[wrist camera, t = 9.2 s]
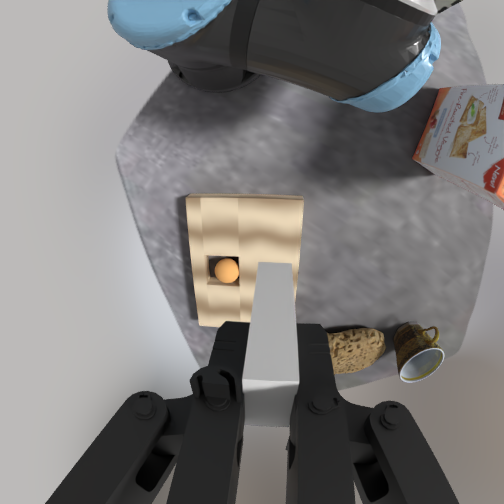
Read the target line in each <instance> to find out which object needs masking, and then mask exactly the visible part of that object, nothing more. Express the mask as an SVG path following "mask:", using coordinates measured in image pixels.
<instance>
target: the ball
mask: <svg viewBox="0 0 504 504" xmlns="http://www.w3.org/2000/svg"><path fill="white" fill-rule="evenodd" d="M215 275H216V277H217V278H218V279H219V280H220V281H221V282H223V283H231V282H233V281H235V280H236V279H237V278H238V276H239V266H238V264H237V262H235V261H234V260H232V259H229V258H225V259H222V260H220V261H219V262H218V263H217V265H216V267H215Z"/></svg>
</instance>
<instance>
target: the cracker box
mask: <svg viewBox="0 0 504 504" xmlns="http://www.w3.org/2000/svg"><path fill="white" fill-rule="evenodd" d="M412 159H413V160H415V161H416V162H418V163H419V164H421V165H422V166H423V167H425V168H426V169H428V170H429V171H431V172H432V173H434V174H435V175H437V176H439V177H441V178H443V179H445V180H447V181H449V182H451V183H453V184H455V185H458V186H460V187H462V188H464V189H466V190H468V191H470V192H472V193H474V194H476V195H477V196H479V197H481V198H483V199H485V200H487V201H489V202H490V203H492V204H494V205H496V206H498V207H500V208H501V209H503V210H504V84H494V85H471V86H458V87H448V88H440V89H439V92H438V95H437V98H436V101H435V103H434V106H433V109H432V112H431V114H430V117H429V119H428V122H427V125H426V127H425V130H424V132H423V134H422V137H421V139H420V142H419V144H418V146H417V148H416V151H415V153H414V155H413V158H412Z"/></svg>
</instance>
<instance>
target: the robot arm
mask: <svg viewBox="0 0 504 504" xmlns="http://www.w3.org/2000/svg"><path fill="white" fill-rule="evenodd" d="M436 14H437V8H436V5H435V3H434V0H109V2H108V18H109V20H110V23H111V25H112V27H113V29H114V30H115V32H116V33H117V34H118V35H120V36H121V37H123V38H124V39H126V40H127V41H128V42H129V43H130V44H132V45H134V47H136V48H141V49H144V50H148V51H150V52H152V53H154V54H156V55H159V56H160V57H162V58H164V59H167V60H168V63H169V65H170V67H171V69H172V71H173V72H174V73H175V74H176V76H177V77H178V78H179V79H181V80H182V81H183V82H185V83H186V84H188V85H190V86H192V87H195V88H197V89H200V90H203V91H208V92H226V91H231V90H235V89H238V88H241V87H243V86H245V85H247V84H249V83H251V82H252V81H254V80H255V79H256V78H257V77H258V76H260V75H265V76H269V77H272V78H276V79H279V80H283V81H286V82H289V83H292V84H296V85H299V86H302V87H305V88H307V89H310V90H313V91H316V92H319V93H321V94H324V95H327V96H329V98H330V99H332V100H334V101H336V102H339V103H340V102H341V103H347V104H350V105H353V106H355V107H358V108H360V109H363V110H365V111H368V112H376V113H379V112H386V111H390V110H393V109H395V108H397V107H399V106H401V105H402V104H404V103H405V102H407V101H408V100H409V99H410V98H411V97H413V96H414V95H415V94H416V93H417V92H418V91H419V90H420V88H421V87H422V86H423V85H424V84H425V82H426V81H427V80H428V78H429V76H430V75H431V73H432V71H433V69H434V68H433V66H432V63H433V62H434V61H436V60H437V59H438V57H439V54H440V49H441V42H440V35H439V33H438V31H437V29H436V28H435V27H434V25H433V24H432V22H431V21H432V20H433V18H434V17H435V15H436ZM190 384H191V388H192V391H193V394H192V395H190V396H187V397H184V398H176V399H167V400H163V398H162V397H161V396H159V395H158V394H156V393H154V392H149V391H142V392H138V393H135V394H133V395H131V396H130V397H129V398H128V399H127V400H126V401H125V402H124V404H123V405H122V406H121V407H120V408H119V410H118V411H117V412H116V413H115V415H114V416H113V417H112V418H111V420H110V421H109V422H108V424H107V425H106V426H105V427H104V429H103V430H102V431H101V433H100V434H99V435H98V436H97V438H96V439H95V440H94V441H93V443H92V444H91V445H90V447H89V448H88V449H87V450H86V452H85V453H84V454H83V456H82V457H81V458H80V459H79V461H78V462H77V463H76V464H75V466H74V467H73V468H72V470H71V471H70V472H69V473H68V475H67V476H66V477H65V479H64V480H63V481H62V482H61V484H60V485H59V486H58V488H57V489H56V490H55V491H54V493H53V494H52V495H51V497H50V498H49V500H48V501H47V502H46V503H45V504H152V502H153V501H154V499H155V497H156V496H157V494H158V493H159V491H160V489H161V488H162V486H163V484H164V483H165V481H166V479H167V478H168V476H169V474H170V473H171V471H172V469H173V467H174V466H175V464H176V463H177V464H176V468H175V472H174V475H173V479H172V483H171V487H170V491H169V495H168V499H167V504H235V501H236V494H237V486H238V478H239V470H240V462H241V455H242V446H243V429H244V425H251V426H270V427H289V425H290V436H289V439H288V443H287V446H286V450H288V458H287V459H288V460H287V486H286V504H355V493H354V482H355V485H356V487H357V490H358V492H359V495H360V498H361V500H362V503H363V504H459V502H458V500H457V498H456V496H455V494H454V492H453V490H452V488H451V486H450V484H449V482H448V480H447V479H446V477H445V474H444V473H443V471H442V469H441V467H440V465H439V463H438V461H437V459H436V458H435V456H434V454H433V452H432V450H431V448H430V447H429V445H428V443H427V441H426V439H425V438H424V436H423V434H422V432H421V431H420V429H419V427H418V425H417V424H416V422H415V420H414V419H413V417H412V415H411V413H410V412H409V410H408V409H407V408H406V407H405V406H404V405H402V404H400V403H398V402H395V401H386V402H381V403H380V404H378V405H376V406H375V407H374V408H370V407H365V406H360V405H355V404H352V403H350V402H348V401H346V400H345V399H344V398H343V397H342V396H341V395H340V394H339V392H338V391H337V388H336V383H335V377H334V370H333V364H332V358H331V355H330V347H329V341H328V336H327V332H326V331H325V330H324V329H323V327H322V326H321V325H320V324H297V323H296V312H295V298H294V286H293V273H292V263H273V262H258V269H257V277H256V284H255V291H254V299H253V306H252V313H251V321H250V322H236V321H225V322H224V323H223V324H222V325H221V327H220V328H219V329H218V331H217V334H216V338H215V342H214V346H213V350H212V353H211V357H210V360H209V364H208V366H206V367H203V368H200V369H199V370H198V371H197V372H195V373H194V374H193V376H192V377H191V379H190Z"/></svg>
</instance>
